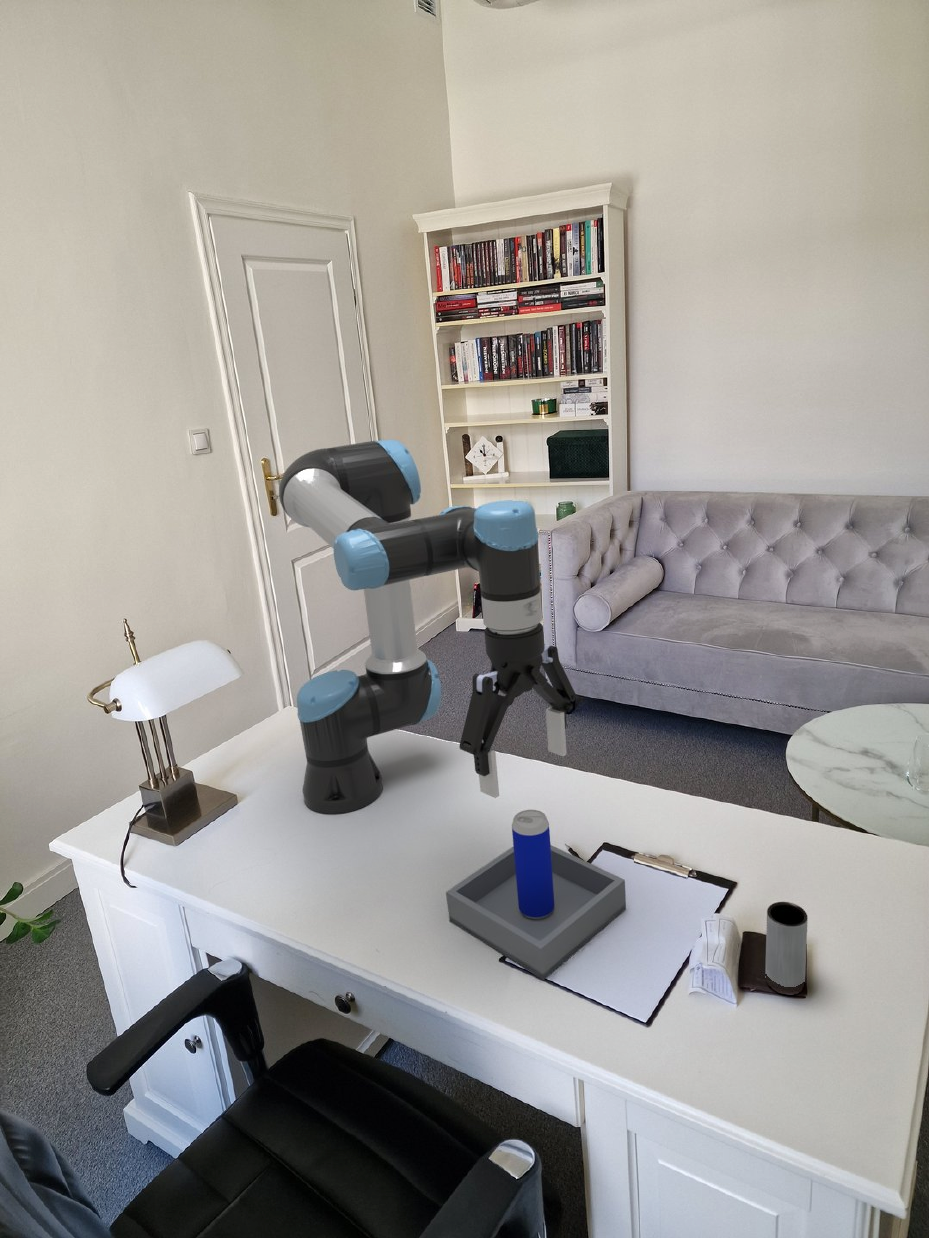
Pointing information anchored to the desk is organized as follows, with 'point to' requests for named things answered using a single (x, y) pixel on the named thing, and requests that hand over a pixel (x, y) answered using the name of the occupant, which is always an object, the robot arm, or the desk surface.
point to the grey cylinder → (786, 944)
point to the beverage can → (533, 863)
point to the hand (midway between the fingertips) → (525, 772)
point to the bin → (537, 943)
